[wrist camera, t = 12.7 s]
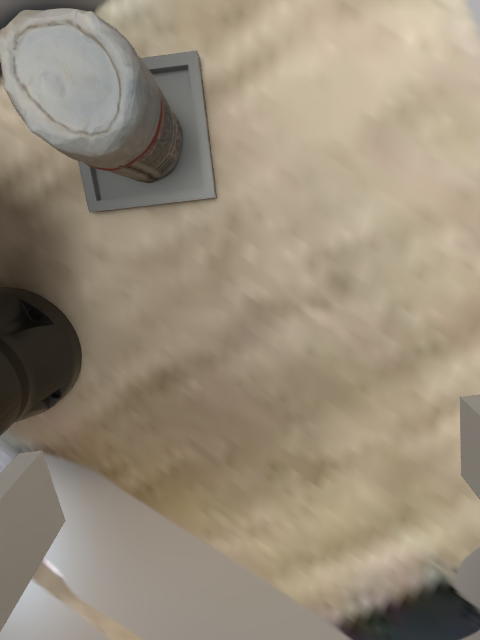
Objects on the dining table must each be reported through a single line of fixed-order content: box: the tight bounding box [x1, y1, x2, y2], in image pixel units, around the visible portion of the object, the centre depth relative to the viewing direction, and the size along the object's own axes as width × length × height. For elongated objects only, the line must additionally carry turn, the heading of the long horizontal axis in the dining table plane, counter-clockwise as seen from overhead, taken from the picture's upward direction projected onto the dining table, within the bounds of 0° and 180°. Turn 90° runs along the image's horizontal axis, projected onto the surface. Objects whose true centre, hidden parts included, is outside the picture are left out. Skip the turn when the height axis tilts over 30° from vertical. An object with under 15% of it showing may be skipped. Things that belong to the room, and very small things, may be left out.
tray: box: [79, 51, 217, 212], centre depth 41 cm, size 13×13×2 cm
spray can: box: [0, 8, 183, 183], centre depth 31 cm, size 8×8×20 cm
